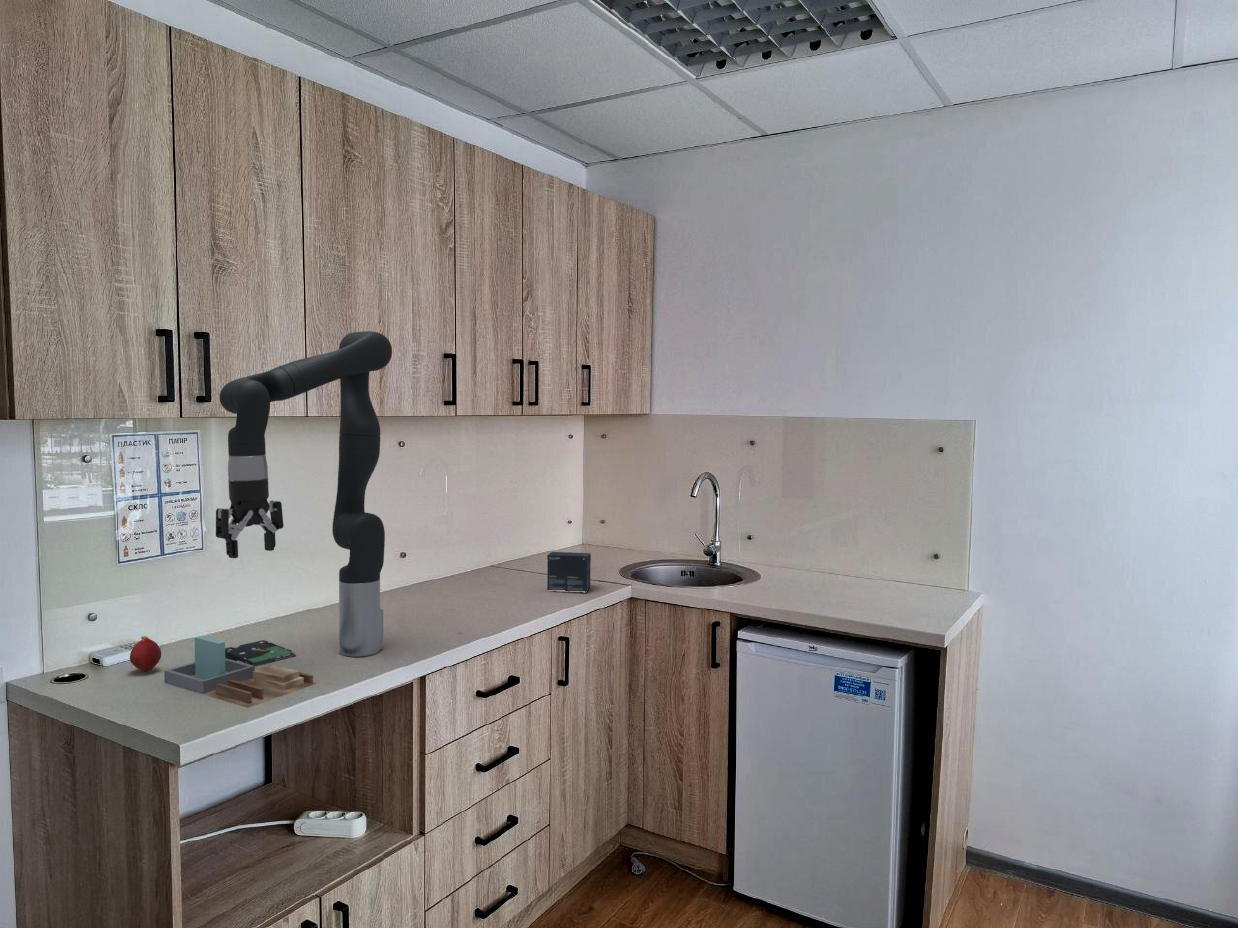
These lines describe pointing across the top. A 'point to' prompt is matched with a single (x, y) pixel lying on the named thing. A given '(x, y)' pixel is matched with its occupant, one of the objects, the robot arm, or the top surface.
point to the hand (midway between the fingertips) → (251, 554)
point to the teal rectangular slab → (209, 657)
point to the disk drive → (258, 653)
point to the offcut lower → (278, 685)
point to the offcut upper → (276, 674)
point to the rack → (253, 691)
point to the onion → (145, 654)
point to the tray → (185, 678)
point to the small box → (568, 571)
